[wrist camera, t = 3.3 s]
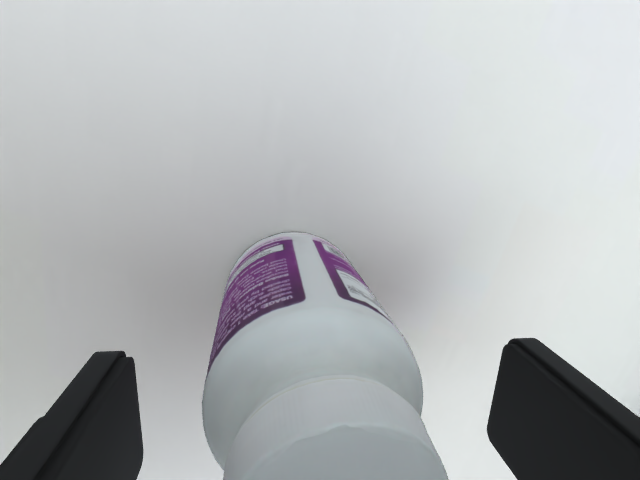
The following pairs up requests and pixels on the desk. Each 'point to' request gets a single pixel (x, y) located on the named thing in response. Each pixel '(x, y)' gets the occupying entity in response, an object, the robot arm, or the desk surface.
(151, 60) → the desk surface
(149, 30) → the desk surface
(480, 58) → the desk surface
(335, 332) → the pill bottle
